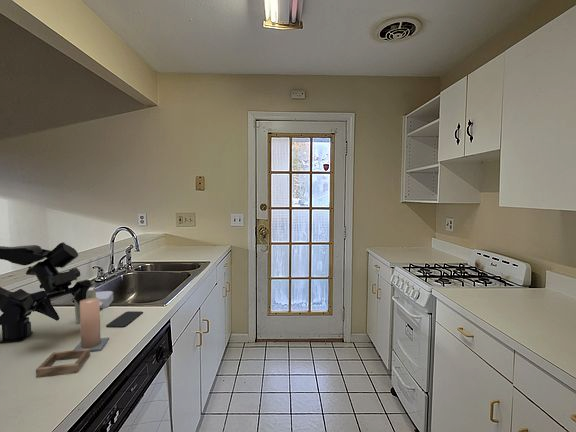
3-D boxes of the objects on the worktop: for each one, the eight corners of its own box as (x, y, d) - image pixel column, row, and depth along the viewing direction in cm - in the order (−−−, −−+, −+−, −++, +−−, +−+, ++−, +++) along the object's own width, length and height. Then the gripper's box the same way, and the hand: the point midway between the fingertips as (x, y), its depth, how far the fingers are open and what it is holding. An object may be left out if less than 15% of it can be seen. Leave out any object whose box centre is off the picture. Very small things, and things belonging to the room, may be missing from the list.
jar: (78, 348, 97) (76, 303, 96) (84, 341, 102) (83, 298, 101) (97, 346, 98) (95, 302, 97) (102, 339, 103) (101, 297, 102)
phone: (144, 311, 129) (124, 326, 114) (144, 313, 129) (124, 328, 114) (126, 311, 129) (104, 326, 114) (126, 313, 129) (104, 328, 114)
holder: (36, 377, 83) (35, 369, 82) (53, 359, 92) (53, 352, 92) (77, 372, 85) (77, 365, 85) (90, 355, 94) (90, 348, 94)
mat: (71, 353, 95) (71, 351, 95) (81, 341, 103) (81, 339, 103) (101, 350, 97) (101, 348, 97) (109, 339, 105) (109, 337, 104)
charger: (78, 315, 126) (90, 303, 140) (104, 312, 128) (113, 301, 143) (78, 303, 126) (89, 292, 140) (104, 301, 128) (113, 290, 142)
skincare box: (97, 317, 123) (96, 286, 122) (94, 321, 119) (93, 289, 118) (78, 319, 121) (77, 288, 120) (74, 324, 117) (73, 291, 116)
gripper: (28, 267, 94) (54, 309, 91) (87, 256, 111) (111, 291, 108) (12, 290, 97) (37, 331, 94) (72, 276, 115) (95, 310, 111)
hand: (73, 314), depth 102 cm, fingers open, 9 cm apart
